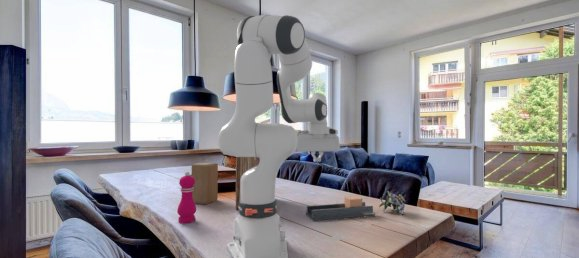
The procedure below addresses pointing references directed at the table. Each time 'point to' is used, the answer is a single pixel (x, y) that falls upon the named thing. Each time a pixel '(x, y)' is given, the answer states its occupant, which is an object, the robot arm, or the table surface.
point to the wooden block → (205, 182)
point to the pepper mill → (187, 200)
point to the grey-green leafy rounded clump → (394, 202)
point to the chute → (337, 211)
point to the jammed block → (353, 201)
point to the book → (241, 167)
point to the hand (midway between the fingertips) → (317, 161)
